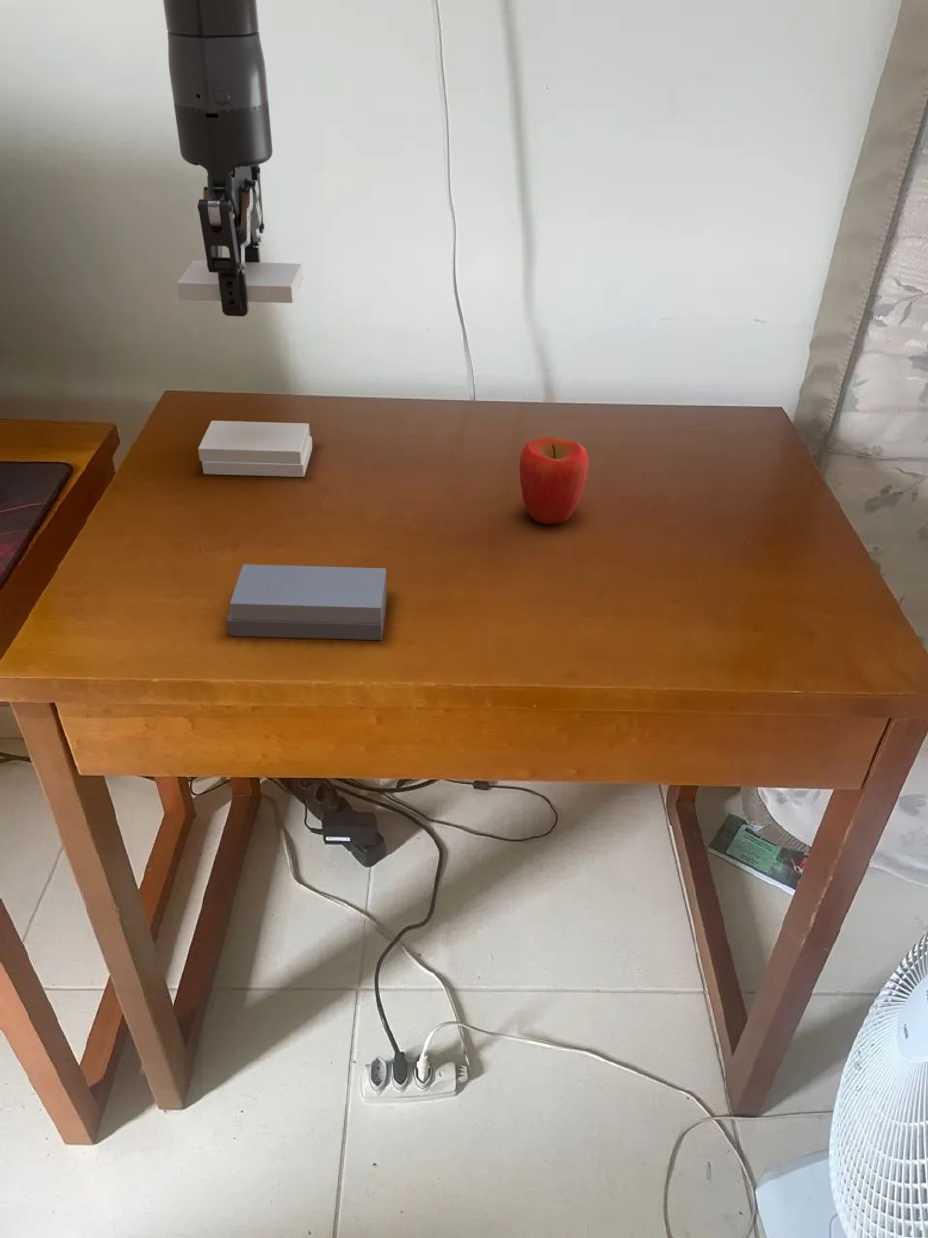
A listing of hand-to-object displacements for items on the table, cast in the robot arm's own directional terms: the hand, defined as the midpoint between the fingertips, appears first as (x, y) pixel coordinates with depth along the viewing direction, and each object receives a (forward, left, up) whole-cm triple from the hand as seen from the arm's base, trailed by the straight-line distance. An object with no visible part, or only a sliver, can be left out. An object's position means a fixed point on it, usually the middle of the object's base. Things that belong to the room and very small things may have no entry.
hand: (243, 300), depth 89 cm
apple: (+21, -21, -17) cm, 34 cm away
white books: (0, +1, -17) cm, 17 cm away
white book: (0, 0, +1) cm, 1 cm away
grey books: (-5, -26, -17) cm, 32 cm away
